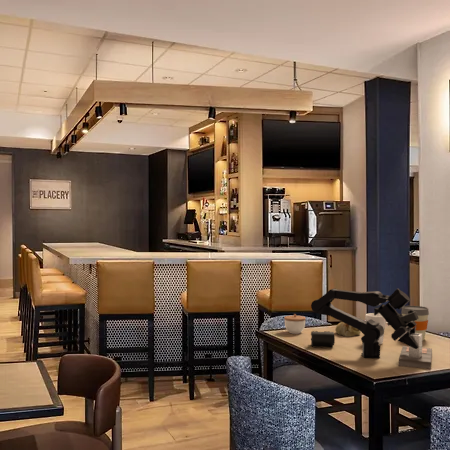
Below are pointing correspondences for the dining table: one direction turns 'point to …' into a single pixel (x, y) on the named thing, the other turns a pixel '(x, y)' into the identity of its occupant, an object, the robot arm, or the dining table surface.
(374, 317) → the foam cup
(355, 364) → the dining table surface
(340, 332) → the pastry
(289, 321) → the lidded jar
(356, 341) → the dining table surface
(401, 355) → the post board
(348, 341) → the dining table surface
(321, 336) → the end cap
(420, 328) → the reusable coffee cup
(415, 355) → the grey upright block
